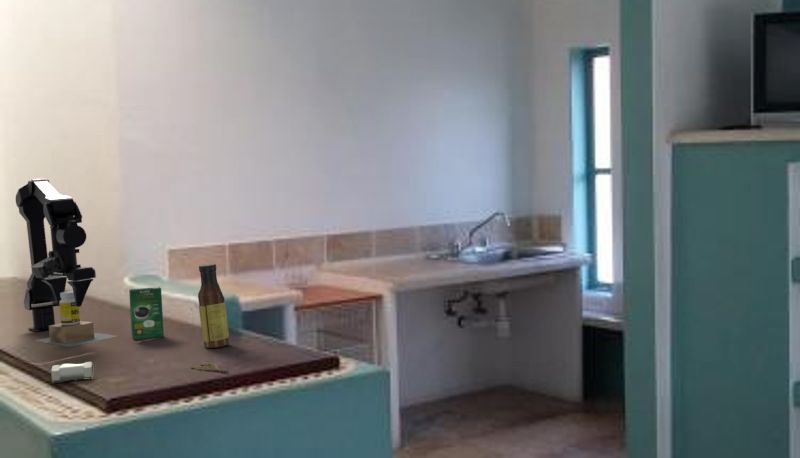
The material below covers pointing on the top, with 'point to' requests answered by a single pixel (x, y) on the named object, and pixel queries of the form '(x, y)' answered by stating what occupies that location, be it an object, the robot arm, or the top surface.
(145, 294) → the coffee box
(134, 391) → the top surface
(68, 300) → the supplement bottle
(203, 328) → the sauce bottle
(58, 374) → the pipe fitting
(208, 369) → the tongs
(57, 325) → the base block
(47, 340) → the build mat
